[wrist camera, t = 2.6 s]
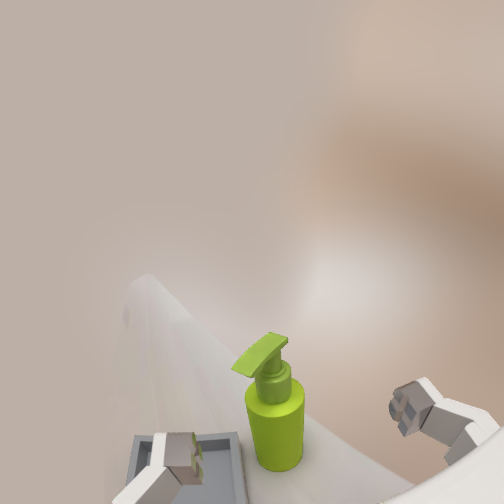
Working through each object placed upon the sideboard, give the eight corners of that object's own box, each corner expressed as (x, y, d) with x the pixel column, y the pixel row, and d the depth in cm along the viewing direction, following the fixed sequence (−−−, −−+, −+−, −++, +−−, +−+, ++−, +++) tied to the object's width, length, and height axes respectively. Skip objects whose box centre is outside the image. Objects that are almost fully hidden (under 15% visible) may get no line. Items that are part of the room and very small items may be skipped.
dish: (253, 532, 18) (249, 526, 17) (134, 529, 17) (120, 521, 16) (240, 444, 31) (236, 431, 30) (144, 448, 30) (134, 435, 29)
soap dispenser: (242, 464, 28) (211, 355, 21) (274, 431, 33) (262, 315, 26) (280, 484, 24) (271, 382, 18) (310, 447, 29) (317, 332, 23)
